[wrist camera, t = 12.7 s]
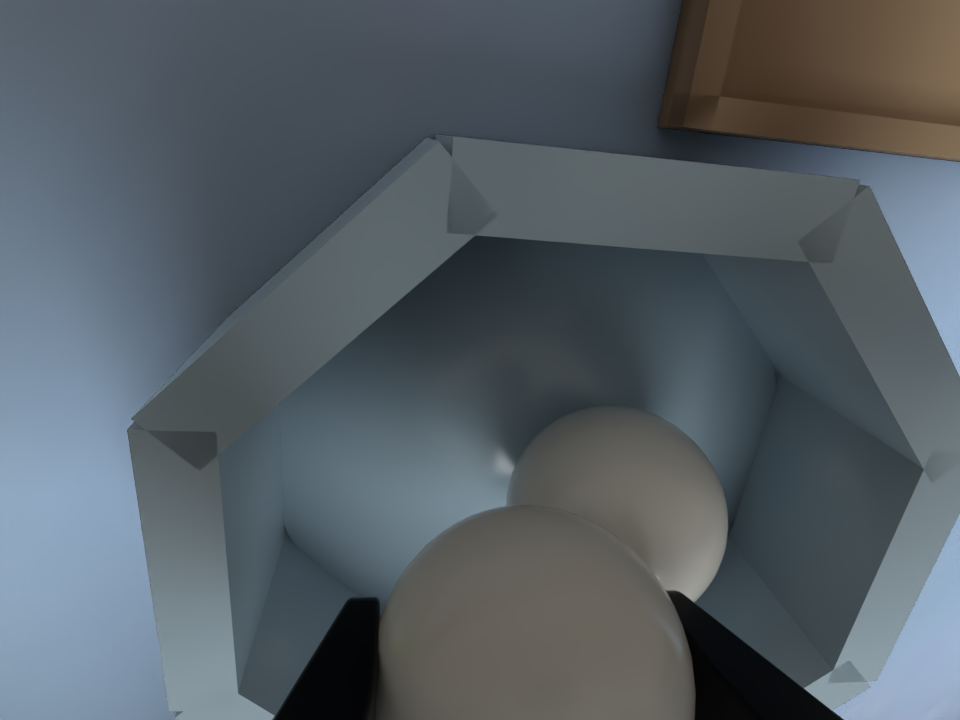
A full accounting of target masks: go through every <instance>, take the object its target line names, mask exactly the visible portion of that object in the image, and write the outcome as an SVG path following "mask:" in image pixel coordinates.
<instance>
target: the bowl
mask: <svg viewBox="0 0 960 720" xmlns="http://www.w3.org/2000/svg"><path fill="white" fill-rule="evenodd" d="M859 182H860V180H858V179H849V178H840V177H831V176H821V175H812V174H803V173H794V172H785V171H775V170H766V169H757V168H748V167H738V166H729V165H720V164H711V163H701V162H692V161H683V160H673V159H664V158H654V157H645V156H635V155H626V154H616V153H607V152H598V151H588V150H579V149H569V148H560V147H550V146H541V145H531V144H522V143H513V142H503V141H494V140H484V139H475V138H465V137H456V136H446V135H437V134H435V140H434V139H431V138H428V137H426V138H425V139H424V140H423V141H422V142H421V143H420V144H418V145H417V146H416V147H415V148H414V149H413V150H412V151H411V152H410V153H409V154H407V155H406V156H405V157H404V158H403V159H402V160H401V161H400V162H399V163H398V164H396V165H395V166H394V167H393V168H392V169H391V170H390V171H389V172H388V173H386V174H385V175H384V176H383V177H382V178H381V179H380V180H379V181H378V182H377V183H375V184H374V185H373V186H372V187H371V188H370V189H369V190H368V191H367V192H366V193H364V194H363V195H362V196H361V197H360V198H359V199H358V200H357V201H356V202H354V203H353V204H352V205H351V206H350V207H349V208H348V209H347V210H346V211H345V212H343V213H342V214H341V215H340V216H339V217H338V218H337V219H336V220H335V221H334V222H332V223H331V224H330V225H329V226H328V227H327V228H326V229H325V230H324V231H322V232H321V233H320V234H319V235H318V236H317V237H316V238H315V239H314V240H313V241H311V242H310V243H309V244H308V245H307V246H306V247H305V248H304V249H303V250H302V251H300V252H299V253H298V254H297V255H296V256H295V257H294V258H293V259H292V260H290V261H289V262H288V263H287V264H286V265H285V266H284V267H283V268H282V269H281V270H279V271H278V272H277V273H276V274H275V275H274V276H273V277H272V278H271V279H270V280H268V281H267V282H266V283H265V284H264V285H263V286H262V287H261V288H260V289H258V290H257V291H256V292H255V293H254V294H253V295H252V296H251V297H250V298H249V299H247V300H246V301H245V302H244V303H243V304H242V305H241V306H240V307H239V308H238V309H236V310H235V311H234V312H233V313H232V314H231V315H230V316H229V317H228V318H227V319H226V320H225V321H224V322H223V323H222V324H221V325H220V326H219V327H218V328H217V329H216V330H215V331H214V332H213V334H212V335H211V336H210V337H209V338H208V339H207V340H206V341H205V342H204V343H203V344H202V345H201V346H200V347H199V348H198V349H197V350H196V351H195V352H194V353H193V354H192V355H191V357H190V358H189V359H188V360H187V361H186V362H185V363H184V364H183V365H182V366H181V367H180V368H179V369H178V370H177V371H176V372H175V373H174V374H173V375H172V376H171V377H170V379H169V380H168V381H167V382H166V383H165V384H164V385H163V386H162V387H161V388H160V389H159V390H158V391H157V392H156V393H155V394H154V395H153V396H152V397H151V398H150V399H149V400H148V402H147V403H146V404H145V405H144V406H143V407H142V408H141V409H140V410H139V411H138V412H137V413H136V414H135V415H134V416H133V417H132V418H131V419H132V420H133V421H134V423H133V424H132V425H131V426H130V427H129V428H128V429H127V433H128V439H129V446H130V453H131V459H132V466H133V473H134V480H135V486H136V493H137V500H138V506H139V513H140V520H141V527H142V533H143V540H144V547H145V553H146V560H147V567H148V574H149V580H150V587H151V594H152V600H153V607H154V614H155V621H156V627H157V634H158V641H159V647H160V654H161V661H162V668H163V674H164V681H165V688H166V695H167V701H168V708H169V712H176V711H177V713H176V715H175V719H176V720H272V719H273V718H274V716H275V714H276V713H277V711H278V710H279V708H280V706H281V705H282V703H283V701H284V700H285V698H286V697H287V695H288V693H289V692H290V690H291V689H292V687H293V685H294V684H295V682H296V681H297V679H298V677H299V676H300V674H301V673H302V671H303V669H304V668H305V666H306V665H307V663H308V661H309V660H310V658H311V657H312V655H313V653H314V652H315V650H316V649H317V647H318V645H319V644H320V642H321V641H322V639H323V637H324V636H325V634H326V633H327V631H328V629H329V628H330V626H331V625H332V623H333V621H334V620H335V618H336V617H337V615H338V613H339V612H340V610H341V608H342V607H343V605H344V604H345V602H346V601H347V600H348V599H349V598H351V597H358V596H377V597H379V598H380V600H381V609H380V618H381V615H382V612H383V609H384V607H385V604H386V602H387V600H388V598H389V596H390V594H391V592H392V589H393V588H394V586H395V584H396V582H397V581H398V579H399V577H400V576H401V574H402V573H403V571H404V570H405V569H406V567H407V566H408V564H409V563H410V562H411V561H412V560H413V559H414V557H415V556H416V555H417V554H418V553H419V552H420V551H421V550H422V549H423V548H424V547H425V545H426V544H428V543H429V542H430V541H431V540H432V539H434V538H435V537H436V536H437V535H438V534H440V533H441V532H443V531H444V530H446V529H448V528H449V527H451V526H452V525H454V524H455V523H457V522H459V521H461V520H463V519H465V518H467V517H469V516H471V515H474V514H477V513H479V512H482V511H485V510H489V509H493V508H497V507H503V506H506V496H507V491H508V486H509V482H510V478H511V475H512V472H513V470H514V467H515V465H516V463H517V461H518V459H519V457H520V455H521V454H522V452H523V451H524V449H525V448H526V446H527V445H528V444H529V442H530V441H531V440H532V439H533V438H534V437H535V436H536V435H537V434H538V433H539V432H540V431H541V430H542V429H543V428H545V427H546V426H547V425H549V424H550V423H552V422H553V421H555V420H556V419H558V418H560V417H562V416H564V415H566V414H568V413H571V412H573V411H576V410H579V409H583V408H586V407H592V406H599V405H620V406H629V407H633V408H638V409H641V410H645V411H648V412H650V413H653V414H656V415H658V416H660V417H661V418H663V419H665V420H667V421H669V422H670V423H672V424H674V425H676V426H677V427H678V428H679V429H681V430H682V431H683V432H684V433H686V434H687V435H688V436H689V437H690V438H691V439H692V440H693V441H694V442H695V443H696V444H697V445H698V446H699V447H700V449H701V450H702V451H703V452H704V454H705V455H706V456H707V458H708V459H709V461H710V463H711V464H712V466H713V468H714V470H715V472H716V473H717V476H718V478H719V480H720V483H721V485H722V489H723V492H724V496H725V500H726V504H727V513H728V535H727V543H726V548H725V552H724V556H723V559H722V561H721V564H720V566H719V569H718V571H717V573H716V575H715V577H714V579H713V581H712V582H711V583H710V585H709V586H708V588H707V589H706V590H705V591H704V593H703V594H702V595H701V596H700V597H699V598H698V599H697V600H696V601H695V602H694V603H696V604H697V605H698V606H699V607H701V608H702V609H703V610H705V611H706V612H707V613H708V614H710V615H711V616H712V617H714V618H715V619H716V620H717V621H719V622H720V623H721V624H722V625H724V626H725V627H726V628H728V629H729V630H730V631H731V632H733V633H734V634H735V635H736V636H738V637H739V638H740V639H742V640H743V641H744V642H745V643H747V644H748V645H749V646H750V647H752V648H753V649H754V650H756V651H757V652H758V653H759V654H761V655H762V656H763V657H764V658H766V659H767V660H768V661H770V662H771V663H772V664H773V665H775V666H776V667H777V668H779V669H780V670H781V671H782V672H784V673H785V674H786V675H787V676H789V677H790V678H791V679H793V680H794V681H795V682H796V683H798V684H799V685H800V686H801V687H803V688H804V689H805V690H807V691H808V692H809V693H810V694H812V695H813V696H814V697H815V698H817V699H818V700H819V701H821V702H822V703H823V704H824V705H826V706H827V707H828V708H830V709H831V710H834V709H836V708H837V707H839V706H841V705H842V704H844V703H845V702H847V701H849V700H850V699H852V698H854V697H855V696H857V695H859V694H860V693H862V692H864V691H865V690H867V689H868V688H870V685H869V684H868V683H867V682H869V681H877V679H878V677H879V675H880V673H881V671H882V669H883V667H884V665H885V663H886V661H887V659H888V657H889V655H890V653H891V651H892V649H893V647H894V645H895V643H896V641H897V639H898V637H899V635H900V633H901V631H902V629H903V627H904V625H905V623H906V621H907V619H908V617H909V615H910V613H911V611H912V609H913V607H914V605H915V603H916V601H917V599H918V597H919V595H920V593H921V591H922V589H923V587H924V585H925V583H926V581H927V579H928V577H929V575H930V573H931V571H932V568H933V566H934V564H935V562H936V560H937V558H938V556H939V554H940V552H941V550H942V548H943V546H944V544H945V542H946V540H947V538H948V536H949V534H950V532H951V530H952V528H953V526H954V524H955V522H956V520H957V518H958V516H959V514H960V377H959V374H958V372H957V370H956V368H955V366H954V364H953V362H952V360H951V358H950V355H949V353H948V351H947V349H946V347H945V345H944V343H943V341H942V338H941V336H940V334H939V332H938V330H937V328H936V326H935V324H934V322H933V319H932V317H931V315H930V313H929V311H928V309H927V307H926V305H925V302H924V300H923V298H922V296H921V294H920V292H919V290H918V288H917V286H916V283H915V281H914V279H913V277H912V275H911V273H910V271H909V269H908V267H907V264H906V262H905V260H904V258H903V256H902V254H901V252H900V250H899V247H898V245H897V243H896V241H895V239H894V237H893V235H892V233H891V231H890V228H889V226H888V224H887V222H886V220H885V218H884V216H883V214H882V211H881V209H880V207H879V205H878V203H877V201H876V199H875V197H874V195H873V192H872V190H871V188H870V186H864V185H859Z"/></svg>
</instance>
